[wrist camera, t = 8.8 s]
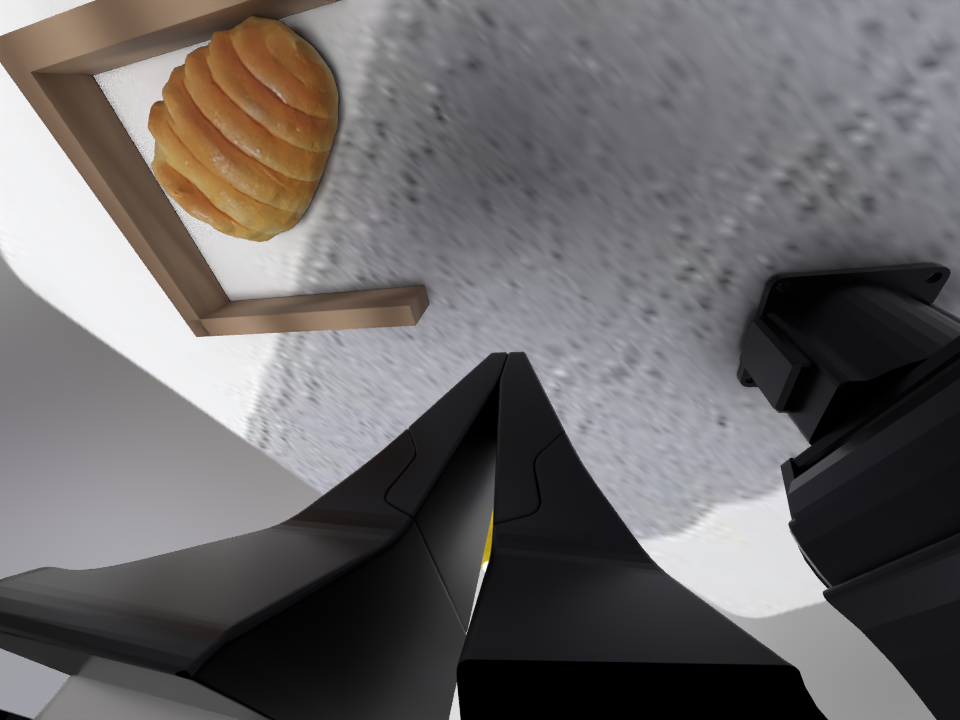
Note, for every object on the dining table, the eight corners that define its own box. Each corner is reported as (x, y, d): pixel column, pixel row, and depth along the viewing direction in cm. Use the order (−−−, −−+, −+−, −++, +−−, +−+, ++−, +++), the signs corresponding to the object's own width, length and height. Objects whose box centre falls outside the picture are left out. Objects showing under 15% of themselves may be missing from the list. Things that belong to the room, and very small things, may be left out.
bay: (336, -48, 13) (296, -75, 11) (429, 304, 21) (415, 325, 19) (54, 48, 17) (-15, 41, 15) (225, 317, 25) (196, 337, 23)
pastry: (254, -37, 14) (169, -75, 11) (383, 121, 16) (342, 126, 13) (178, 144, 18) (103, 153, 15) (287, 246, 21) (240, 271, 18)
